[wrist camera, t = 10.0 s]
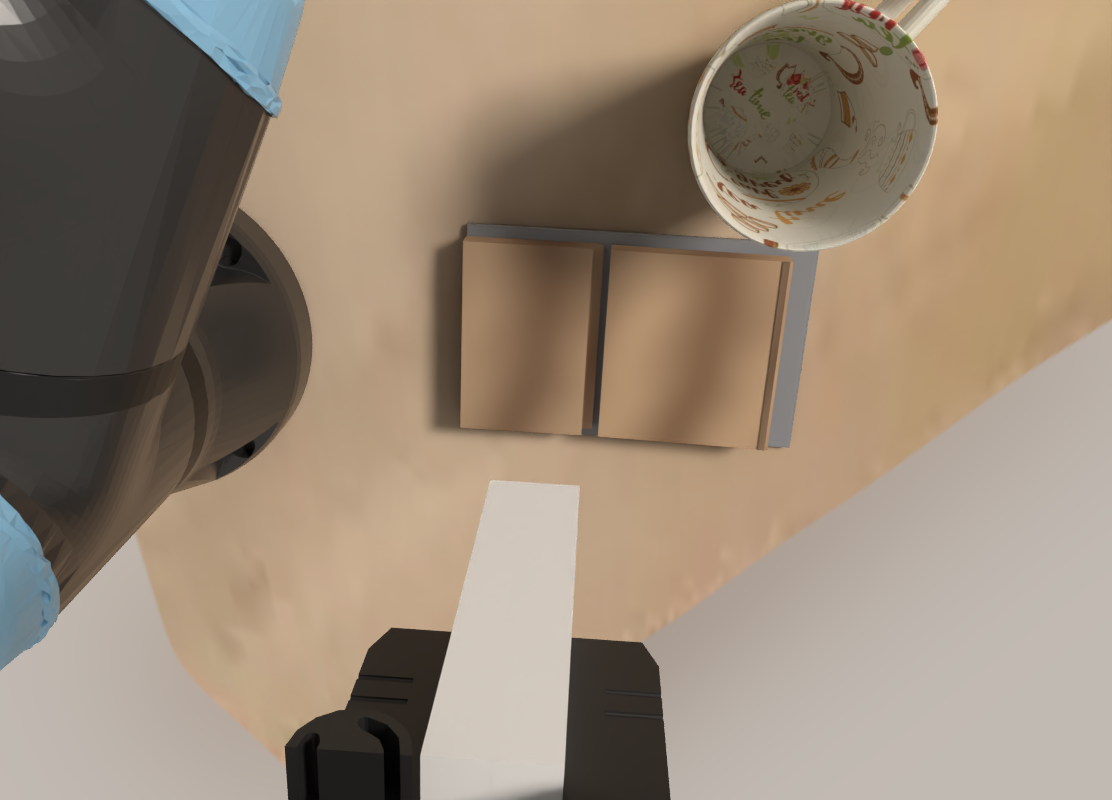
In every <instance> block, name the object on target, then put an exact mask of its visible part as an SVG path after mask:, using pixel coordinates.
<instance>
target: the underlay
mask: <svg viewBox="0 0 1112 800" xmlns="http://www.w3.org/2000/svg"><path fill="white" fill-rule="evenodd" d="M467 236H482V237H499V238H516V239H533V240H551V241H568V242H585V243H602V244H604V258H603V273H602V288H601V302H600V317H599V332H598V346H597V361H596V376H595V390H594V405H593V420H592V429H587V428H582V431H581V434H582V435H598V429H599V414H600V400H601V386H602V372H603V358H604V344H605V330H606V316H607V301H608V287H609V273H610V259H611V248H612V245H626V246H641V247H656V248H671V249H686V250H700V251H715V252H730V253H745V254H760V255H775V256H790V258H791V259H792V261H793V262H794V263H793V270H792V277H791V284H790V291H789V299H788V306H787V313H786V320H785V327H784V334H783V341H782V348H781V355H780V362H779V370H778V377H777V384H776V391H775V398H774V405H773V412H772V419H771V426H770V433H769V441H768V446H771V447H786V448H789V446H790V440H791V433H792V426H793V420H794V413H795V406H796V400H797V393H798V386H799V380H800V373H801V366H802V360H803V353H804V346H805V340H806V333H807V326H808V320H809V313H810V306H811V300H812V293H813V286H814V280H815V273H816V266H817V260H818V253H819V251H810V252H793V251H785V250H779V249H774V248H770V247H767V246H764V245H761V244H759V243H756V242H754V241H752V240H750V239H733V238H716V237H698V236H681V235H664V234H647V233H630V232H613V231H595V230H578V229H561V228H544V227H527V226H509V225H492V224H475V223H468V224H467Z"/></svg>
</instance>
